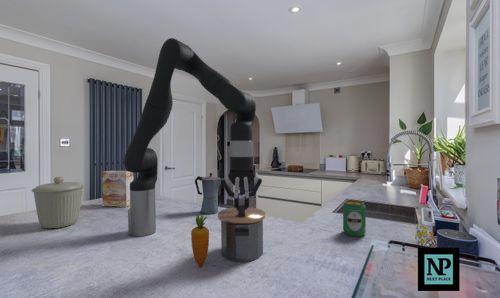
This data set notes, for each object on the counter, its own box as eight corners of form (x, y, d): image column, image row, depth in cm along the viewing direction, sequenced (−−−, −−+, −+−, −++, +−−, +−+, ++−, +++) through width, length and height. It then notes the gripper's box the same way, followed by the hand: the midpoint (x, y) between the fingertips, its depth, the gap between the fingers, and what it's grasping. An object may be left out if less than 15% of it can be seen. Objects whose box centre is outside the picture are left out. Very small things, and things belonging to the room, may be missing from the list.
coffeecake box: (102, 206, 142) (101, 171, 141) (111, 203, 149) (110, 170, 148) (126, 207, 139) (125, 172, 139) (134, 204, 146) (133, 170, 146)
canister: (22, 229, 105) (21, 178, 105) (67, 217, 122) (66, 173, 121) (50, 234, 98) (48, 180, 98) (94, 221, 115) (93, 175, 115)
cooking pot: (219, 265, 73) (219, 227, 73) (223, 242, 90) (223, 211, 89) (264, 264, 73) (264, 226, 73) (260, 241, 90) (260, 211, 90)
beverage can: (343, 235, 95) (343, 204, 95) (343, 228, 103) (343, 199, 102) (366, 238, 93) (366, 205, 92) (364, 231, 100) (364, 200, 100)
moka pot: (220, 215, 123) (219, 174, 122) (190, 214, 126) (190, 173, 125) (226, 210, 132) (225, 172, 132) (198, 209, 135) (197, 171, 135)
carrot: (192, 263, 74) (192, 212, 74) (209, 262, 75) (209, 212, 74) (190, 272, 69) (189, 217, 69) (208, 271, 70) (208, 216, 69)
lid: (215, 226, 73) (215, 208, 73) (220, 212, 88) (220, 197, 88) (267, 226, 74) (267, 208, 74) (263, 212, 89) (263, 196, 89)
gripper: (218, 155, 77) (218, 212, 77) (264, 155, 77) (264, 212, 78) (220, 154, 84) (221, 206, 85) (262, 154, 85) (262, 206, 85)
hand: (241, 209), depth 81 cm, fingers closed on lid
